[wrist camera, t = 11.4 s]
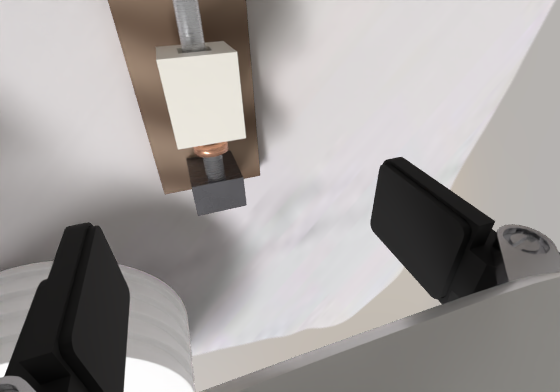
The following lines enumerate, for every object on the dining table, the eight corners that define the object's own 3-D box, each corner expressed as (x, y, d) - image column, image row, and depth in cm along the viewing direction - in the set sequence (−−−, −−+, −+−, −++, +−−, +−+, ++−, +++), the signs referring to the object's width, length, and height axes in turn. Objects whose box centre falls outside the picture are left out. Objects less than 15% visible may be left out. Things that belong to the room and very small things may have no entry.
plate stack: (174, 383, 53) (179, 465, 44) (-50, 420, 41) (-106, 543, 32) (203, 257, 40) (217, 337, 31) (-110, 259, 28) (-232, 387, 19)
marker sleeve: (155, 46, 23) (156, 59, 19) (223, 40, 24) (237, 51, 20) (174, 125, 26) (177, 149, 22) (232, 116, 28) (246, 138, 24)
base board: (19, -312, 16) (9, -336, 15) (217, -280, 18) (221, -298, 17) (164, 186, 33) (164, 194, 32) (256, 169, 35) (260, 175, 34)
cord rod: (90, -257, 16) (66, -352, 12) (176, -246, 18) (185, -329, 13) (192, 184, 32) (198, 218, 27) (234, 176, 33) (247, 207, 29)
